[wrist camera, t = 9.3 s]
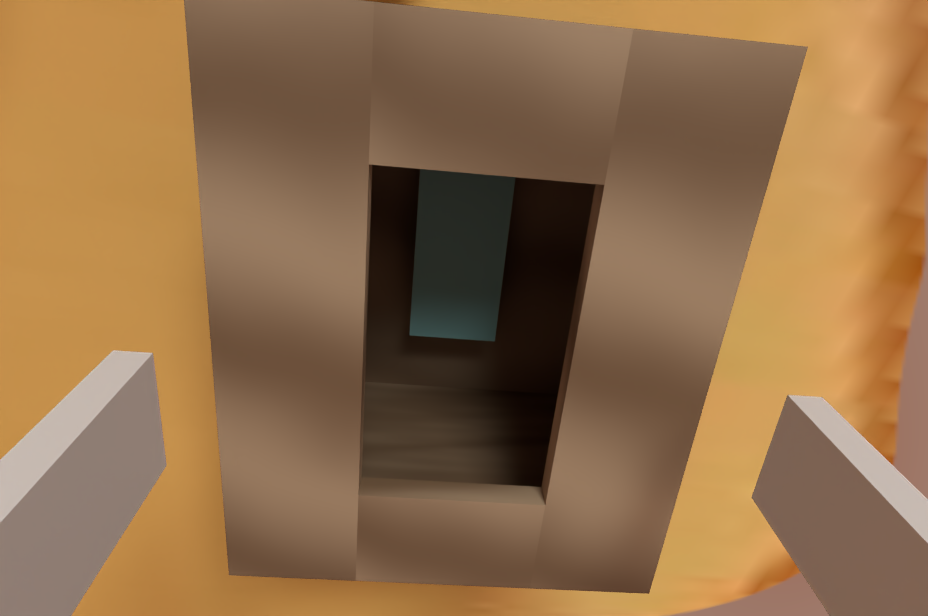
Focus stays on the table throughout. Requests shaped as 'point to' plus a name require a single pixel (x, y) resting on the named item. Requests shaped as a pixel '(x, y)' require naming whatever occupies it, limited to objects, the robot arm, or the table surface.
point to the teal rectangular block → (460, 254)
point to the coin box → (522, 294)
